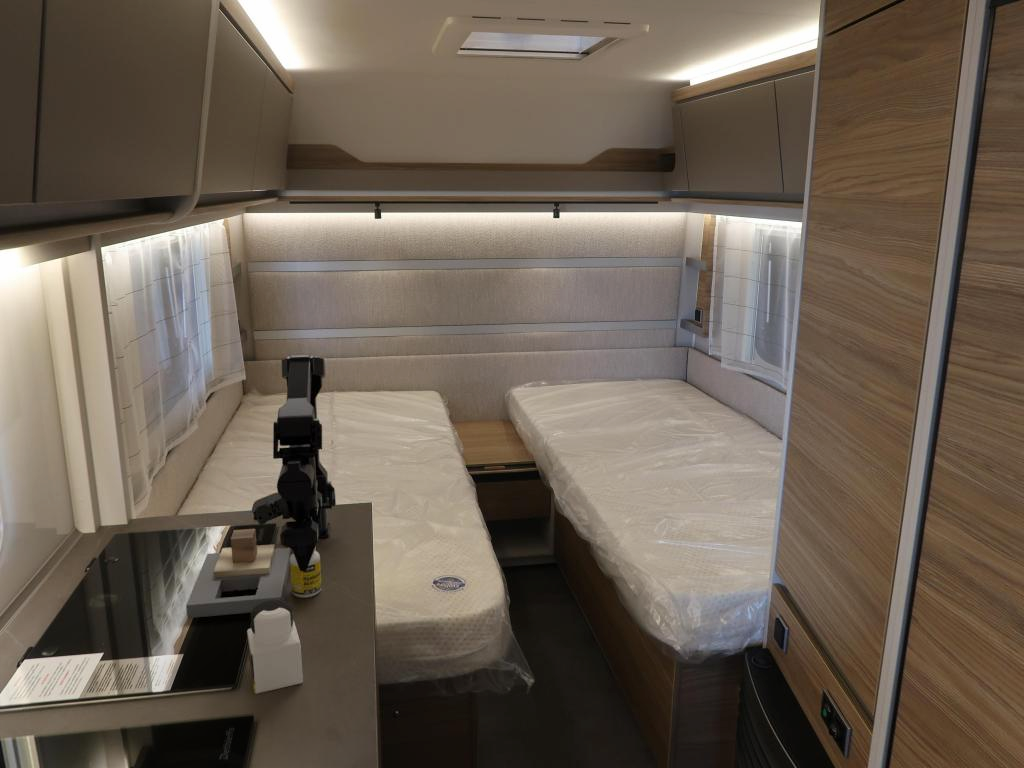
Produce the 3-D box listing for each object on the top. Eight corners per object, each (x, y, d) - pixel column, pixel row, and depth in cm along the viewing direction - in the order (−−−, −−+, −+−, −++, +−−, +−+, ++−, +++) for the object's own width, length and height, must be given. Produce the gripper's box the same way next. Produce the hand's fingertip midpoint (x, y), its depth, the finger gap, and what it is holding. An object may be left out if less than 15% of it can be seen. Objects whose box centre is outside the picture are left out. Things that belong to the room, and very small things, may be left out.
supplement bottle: (304, 601, 142) (301, 552, 140) (286, 592, 145) (282, 544, 143) (327, 590, 146) (325, 542, 144) (309, 581, 149) (306, 534, 147)
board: (208, 565, 155) (207, 553, 155) (291, 558, 158) (290, 547, 158) (187, 618, 136) (186, 605, 136) (281, 609, 139) (280, 597, 139)
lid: (222, 553, 155) (220, 524, 153) (274, 549, 157) (272, 521, 155) (213, 577, 145) (211, 547, 144) (269, 573, 147) (267, 543, 146)
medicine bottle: (250, 668, 122) (244, 600, 119) (296, 658, 125) (291, 591, 122) (254, 695, 116) (248, 623, 113) (303, 683, 119) (298, 613, 116)
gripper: (259, 465, 148) (265, 540, 152) (246, 503, 130) (253, 587, 134) (319, 461, 150) (324, 536, 154) (314, 499, 132) (319, 582, 136)
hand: (304, 558), depth 144 cm, fingers open, 9 cm apart
